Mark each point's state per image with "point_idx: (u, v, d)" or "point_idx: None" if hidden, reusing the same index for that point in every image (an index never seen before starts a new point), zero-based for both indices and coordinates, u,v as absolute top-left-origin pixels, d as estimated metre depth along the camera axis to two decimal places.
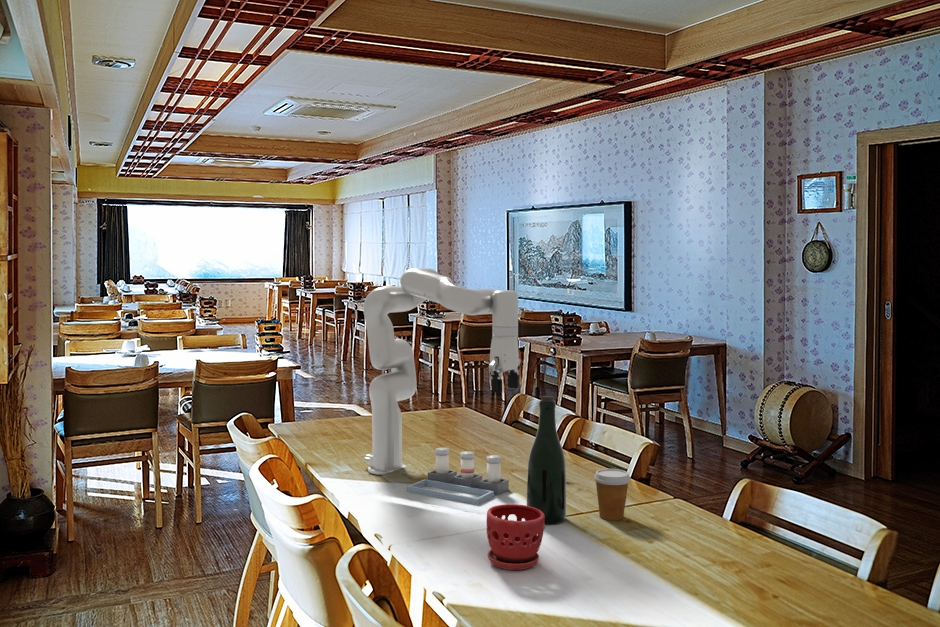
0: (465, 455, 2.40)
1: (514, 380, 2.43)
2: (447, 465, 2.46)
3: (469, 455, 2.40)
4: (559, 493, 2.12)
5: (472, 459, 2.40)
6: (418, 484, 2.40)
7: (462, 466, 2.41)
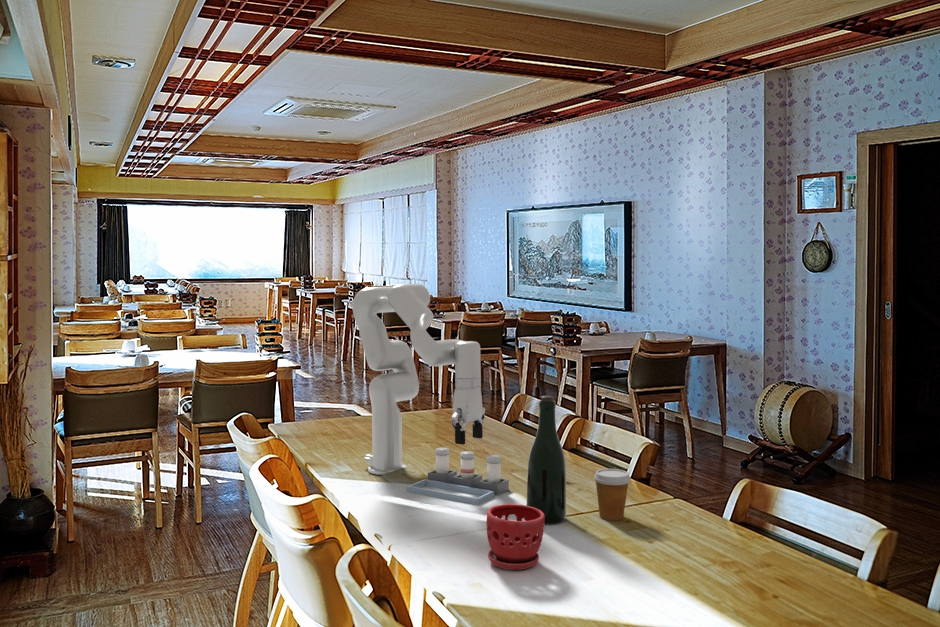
0: (465, 455, 2.40)
1: (478, 430, 2.44)
2: (447, 465, 2.46)
3: (469, 455, 2.40)
4: (559, 493, 2.12)
5: (472, 459, 2.40)
6: (418, 484, 2.40)
7: (462, 466, 2.41)
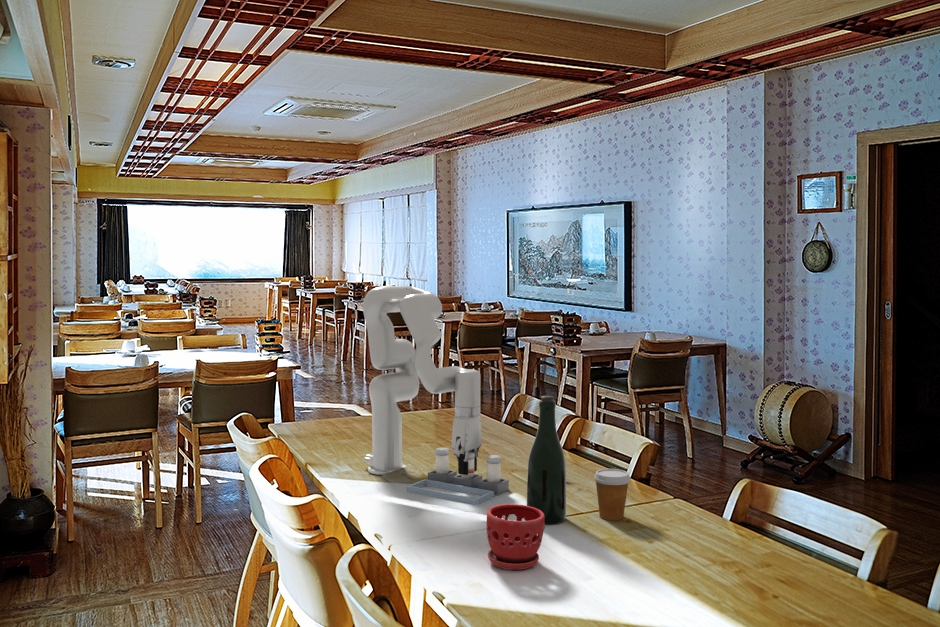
0: None
1: None
2: (447, 465, 2.46)
3: (469, 455, 2.40)
4: (559, 493, 2.12)
5: (472, 459, 2.40)
6: (418, 484, 2.40)
7: None
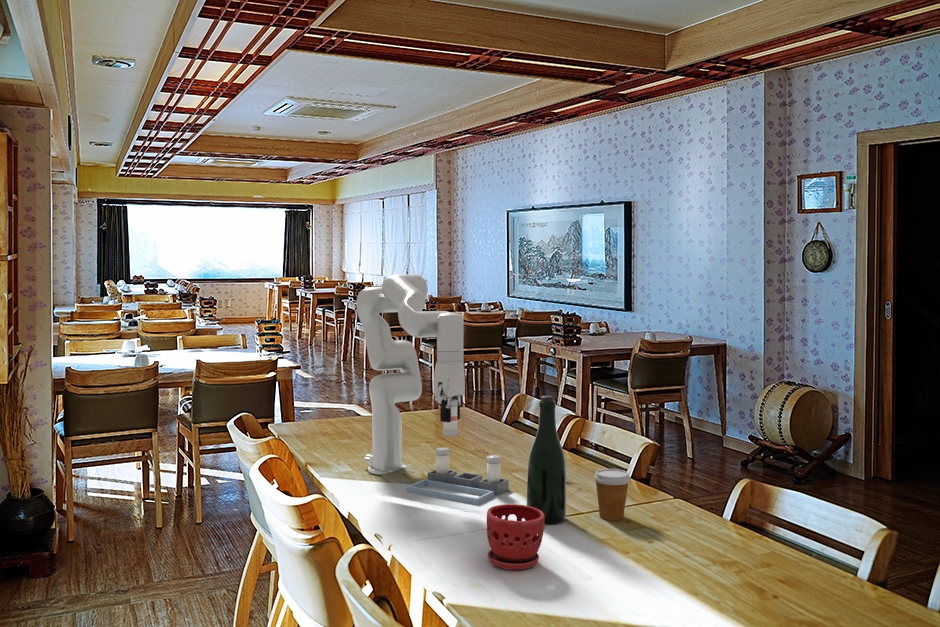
0: None
1: None
2: (447, 465, 2.46)
3: (452, 402, 2.30)
4: (559, 493, 2.12)
5: (455, 406, 2.31)
6: (418, 484, 2.40)
7: None
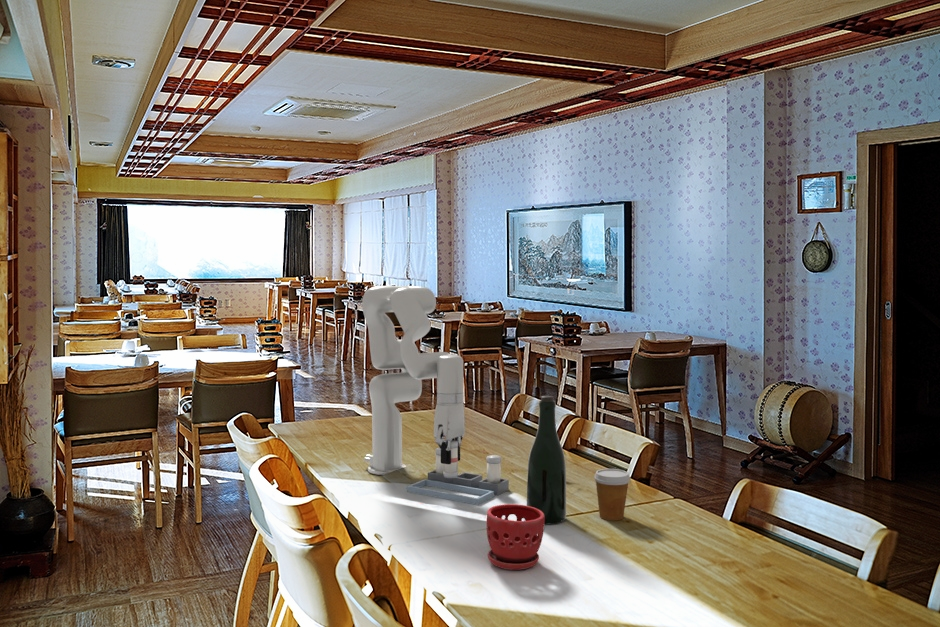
0: None
1: None
2: None
3: (452, 444, 2.31)
4: (559, 493, 2.12)
5: (455, 448, 2.32)
6: (418, 484, 2.40)
7: None
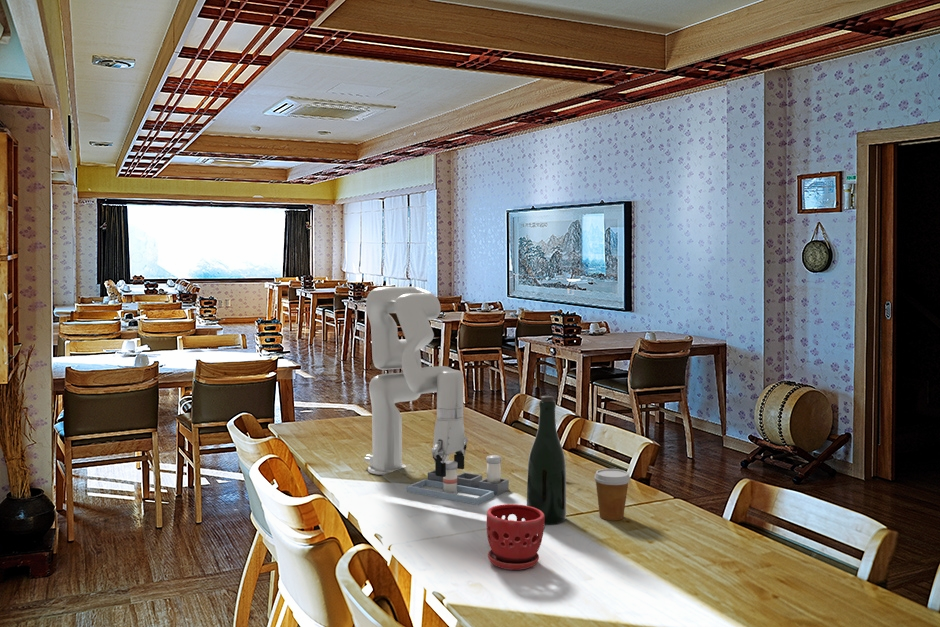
0: (447, 465, 2.31)
1: (460, 461, 2.37)
2: None
3: (452, 465, 2.31)
4: (559, 493, 2.12)
5: (455, 469, 2.32)
6: (418, 484, 2.40)
7: None
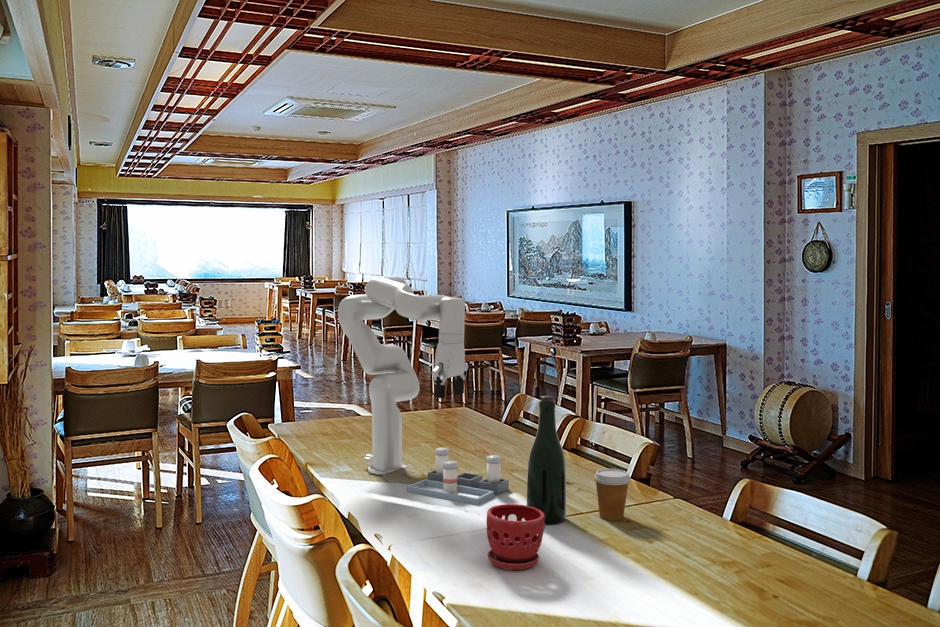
0: (448, 465, 2.32)
1: (460, 385, 2.47)
2: None
3: (452, 465, 2.32)
4: (559, 493, 2.12)
5: (455, 469, 2.32)
6: (418, 484, 2.40)
7: (444, 476, 2.33)
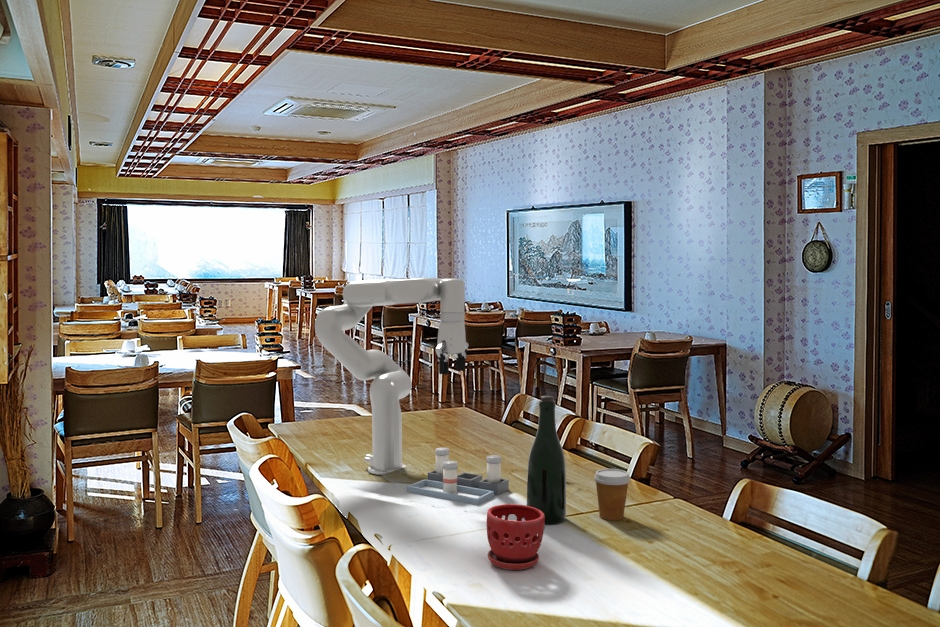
0: (448, 465, 2.32)
1: (461, 363, 2.59)
2: None
3: (452, 465, 2.32)
4: (559, 493, 2.12)
5: (455, 469, 2.33)
6: (418, 484, 2.40)
7: (444, 476, 2.33)
